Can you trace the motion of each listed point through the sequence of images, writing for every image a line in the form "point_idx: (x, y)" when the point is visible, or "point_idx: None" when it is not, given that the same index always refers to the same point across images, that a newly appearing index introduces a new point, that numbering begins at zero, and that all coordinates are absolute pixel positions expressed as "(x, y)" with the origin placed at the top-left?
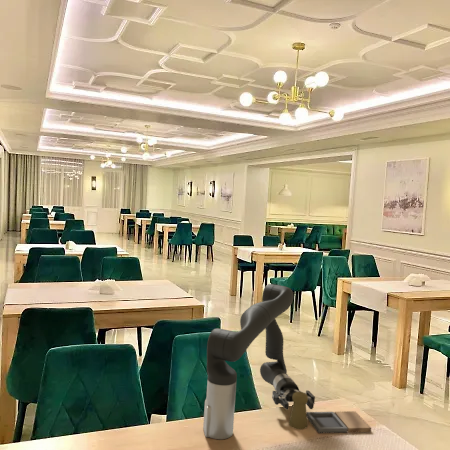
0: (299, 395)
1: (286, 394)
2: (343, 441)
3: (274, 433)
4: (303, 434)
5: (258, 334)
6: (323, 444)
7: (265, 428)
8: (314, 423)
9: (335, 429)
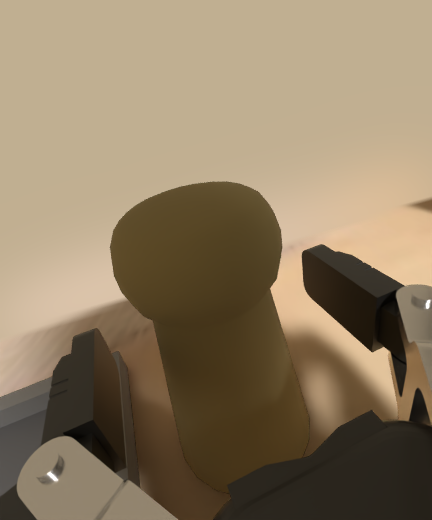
0: (198, 183)
1: (428, 352)
2: (34, 348)
3: None
4: None
5: None
6: None
7: None
8: (124, 410)
9: (15, 395)
